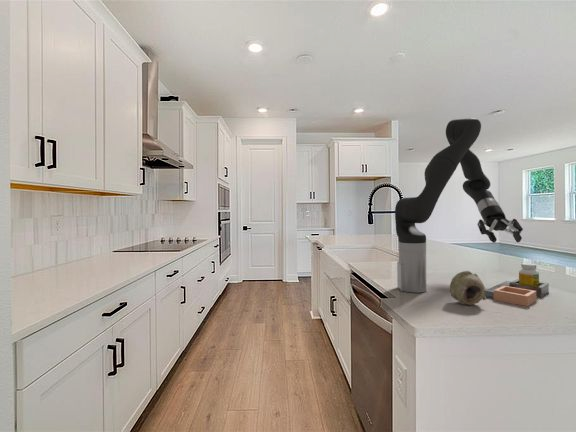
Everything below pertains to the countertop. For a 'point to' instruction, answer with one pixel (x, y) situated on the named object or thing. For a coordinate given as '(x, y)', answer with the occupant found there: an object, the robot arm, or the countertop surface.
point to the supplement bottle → (529, 275)
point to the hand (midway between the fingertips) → (507, 241)
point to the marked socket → (515, 295)
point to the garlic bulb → (467, 288)
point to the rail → (539, 290)
